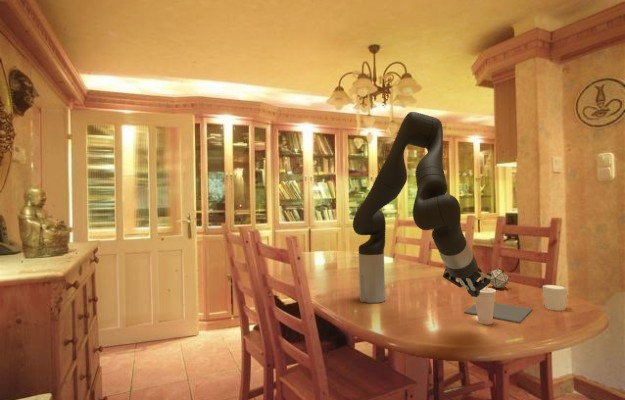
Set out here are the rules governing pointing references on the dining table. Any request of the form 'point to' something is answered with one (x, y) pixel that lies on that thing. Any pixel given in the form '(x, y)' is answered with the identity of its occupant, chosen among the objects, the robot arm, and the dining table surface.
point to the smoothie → (485, 305)
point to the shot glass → (555, 297)
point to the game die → (498, 278)
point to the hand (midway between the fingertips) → (475, 294)
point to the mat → (505, 312)
